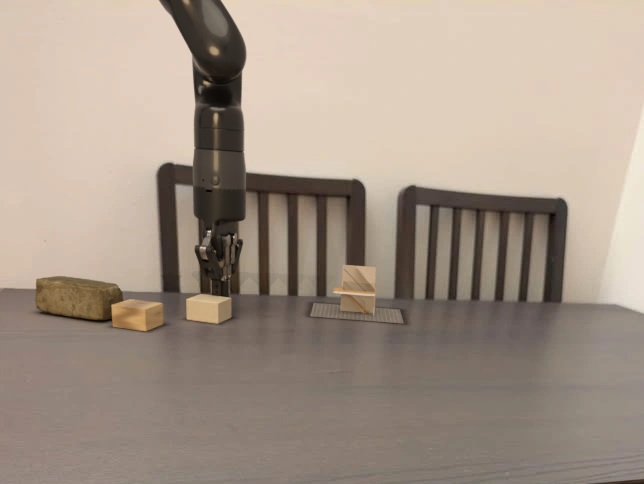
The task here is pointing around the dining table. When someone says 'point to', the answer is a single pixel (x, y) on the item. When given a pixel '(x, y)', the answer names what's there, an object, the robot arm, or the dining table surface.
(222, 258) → the robot arm
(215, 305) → the cream block
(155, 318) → the birch block
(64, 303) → the stone block
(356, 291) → the architectural model
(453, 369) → the dining table surface
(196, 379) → the dining table surface
